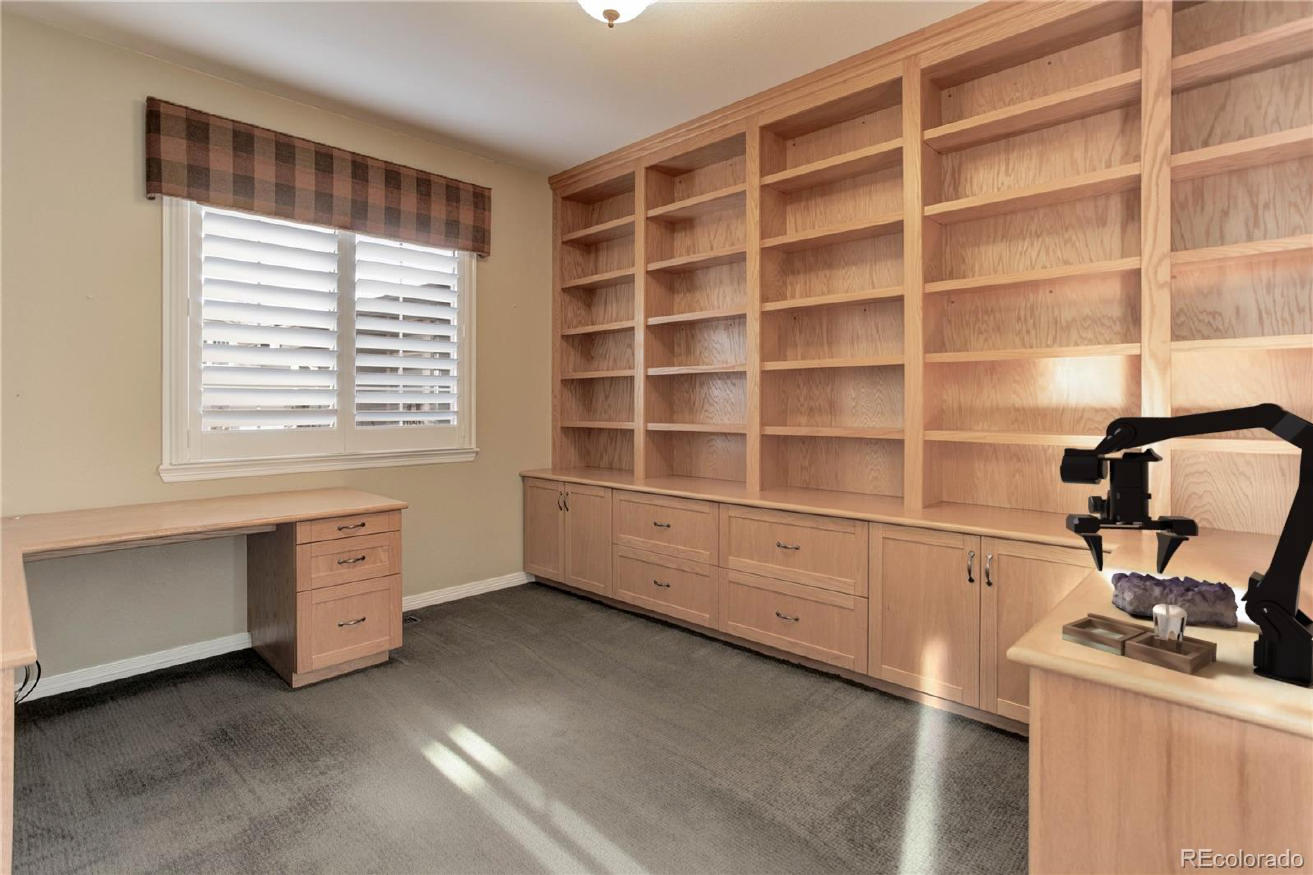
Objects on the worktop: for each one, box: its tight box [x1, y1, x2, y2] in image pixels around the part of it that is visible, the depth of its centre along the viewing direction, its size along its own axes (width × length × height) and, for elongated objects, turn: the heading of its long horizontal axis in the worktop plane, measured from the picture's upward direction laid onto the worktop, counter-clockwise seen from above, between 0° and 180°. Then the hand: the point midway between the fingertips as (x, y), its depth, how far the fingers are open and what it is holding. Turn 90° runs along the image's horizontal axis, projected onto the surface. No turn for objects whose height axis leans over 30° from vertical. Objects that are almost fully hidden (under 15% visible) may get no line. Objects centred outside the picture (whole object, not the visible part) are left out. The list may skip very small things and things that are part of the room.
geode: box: [1110, 571, 1239, 630], centre depth 130 cm, size 20×12×10 cm, turn 60°
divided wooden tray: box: [1061, 612, 1218, 675], centre depth 113 cm, size 19×11×3 cm, turn 32°
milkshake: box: [1152, 604, 1187, 655], centre depth 108 cm, size 4×5×10 cm
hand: (1129, 572), depth 116 cm, fingers open, 9 cm apart
